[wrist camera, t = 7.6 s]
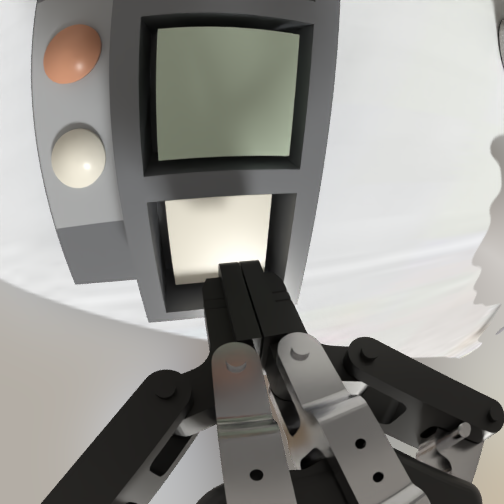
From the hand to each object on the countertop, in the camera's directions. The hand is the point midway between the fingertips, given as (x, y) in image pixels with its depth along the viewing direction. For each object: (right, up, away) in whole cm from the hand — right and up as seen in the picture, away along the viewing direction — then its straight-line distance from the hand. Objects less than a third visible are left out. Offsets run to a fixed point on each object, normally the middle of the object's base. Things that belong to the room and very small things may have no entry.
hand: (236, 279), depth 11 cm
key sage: (-1, +7, -1) cm, 7 cm away
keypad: (-4, +10, +2) cm, 10 cm away
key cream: (-1, +3, +4) cm, 5 cm away
